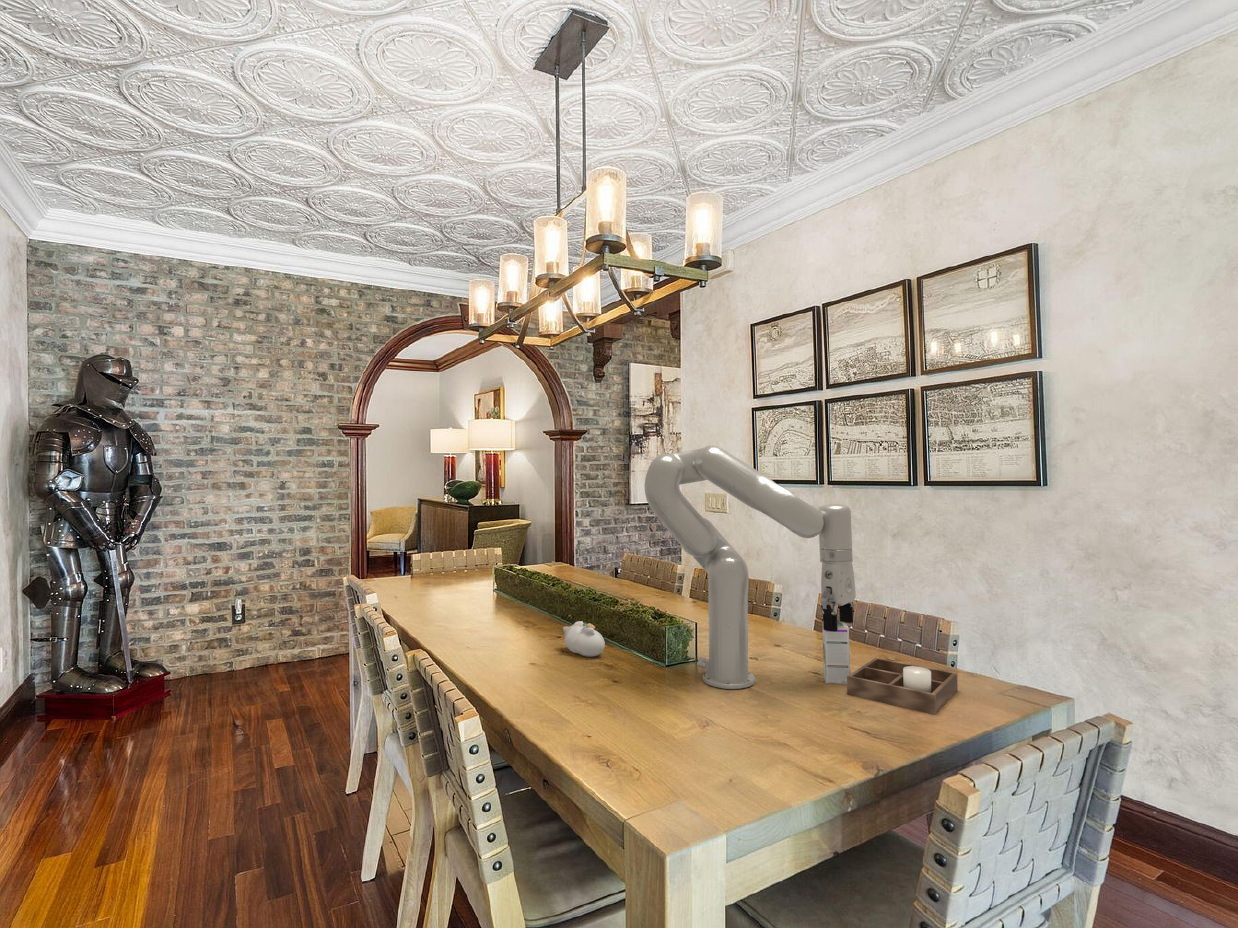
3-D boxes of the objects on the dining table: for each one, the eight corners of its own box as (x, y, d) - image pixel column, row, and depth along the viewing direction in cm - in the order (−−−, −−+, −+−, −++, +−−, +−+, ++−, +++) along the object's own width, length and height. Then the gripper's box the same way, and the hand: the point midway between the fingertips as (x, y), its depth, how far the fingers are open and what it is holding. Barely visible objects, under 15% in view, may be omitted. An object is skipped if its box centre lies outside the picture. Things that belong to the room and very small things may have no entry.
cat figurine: (606, 624, 176) (568, 610, 186) (587, 644, 171) (550, 628, 181) (615, 649, 180) (578, 634, 190) (598, 669, 175) (560, 652, 185)
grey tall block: (851, 688, 150) (850, 627, 150) (825, 686, 152) (824, 625, 152) (847, 680, 156) (846, 621, 156) (822, 678, 157) (821, 620, 157)
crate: (847, 698, 144) (847, 676, 144) (875, 677, 158) (875, 657, 158) (935, 719, 132) (934, 694, 132) (957, 694, 146) (957, 672, 146)
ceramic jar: (900, 702, 138) (899, 670, 138) (908, 695, 142) (907, 664, 142) (927, 708, 135) (926, 675, 135) (934, 701, 139) (934, 669, 139)
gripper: (837, 561, 145) (839, 636, 145) (864, 552, 158) (867, 621, 158) (805, 559, 150) (808, 632, 150) (835, 550, 163) (837, 617, 163)
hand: (838, 626), depth 154 cm, fingers open, 9 cm apart
